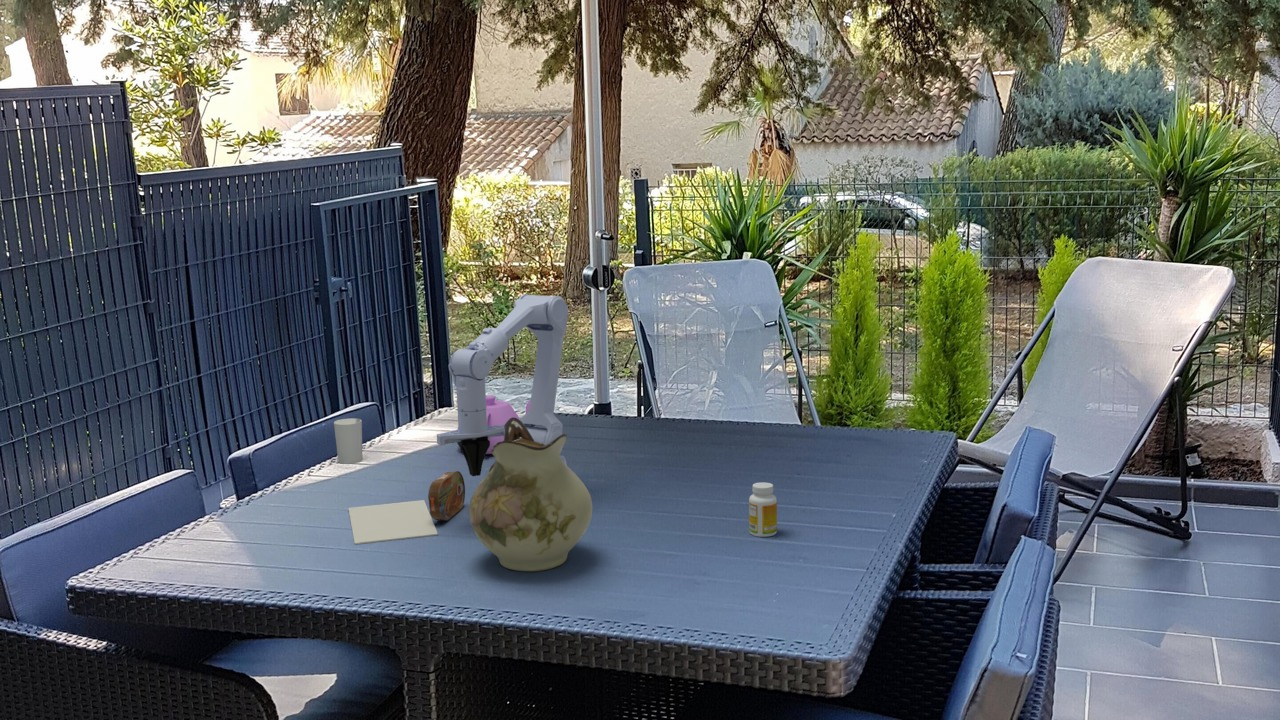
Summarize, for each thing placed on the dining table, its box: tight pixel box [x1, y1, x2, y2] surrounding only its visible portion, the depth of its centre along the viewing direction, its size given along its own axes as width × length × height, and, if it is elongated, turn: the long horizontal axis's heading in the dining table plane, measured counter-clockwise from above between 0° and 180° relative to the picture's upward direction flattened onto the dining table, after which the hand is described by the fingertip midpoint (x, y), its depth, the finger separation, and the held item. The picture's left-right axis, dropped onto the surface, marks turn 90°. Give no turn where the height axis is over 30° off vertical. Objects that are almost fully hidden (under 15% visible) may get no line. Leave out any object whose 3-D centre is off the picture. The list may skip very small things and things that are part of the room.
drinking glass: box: [333, 417, 363, 465], centre depth 286 cm, size 7×7×10 cm
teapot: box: [486, 394, 531, 455], centre depth 294 cm, size 22×22×14 cm
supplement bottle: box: [748, 481, 778, 538], centre depth 226 cm, size 5×5×10 cm
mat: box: [348, 499, 439, 545], centre depth 238 cm, size 16×24×1 cm, turn 17°
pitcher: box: [468, 417, 593, 572], centre depth 212 cm, size 22×24×25 cm
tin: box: [427, 470, 466, 521], centre depth 241 cm, size 15×3×8 cm, turn 169°
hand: (475, 474), depth 234 cm, fingers closed
